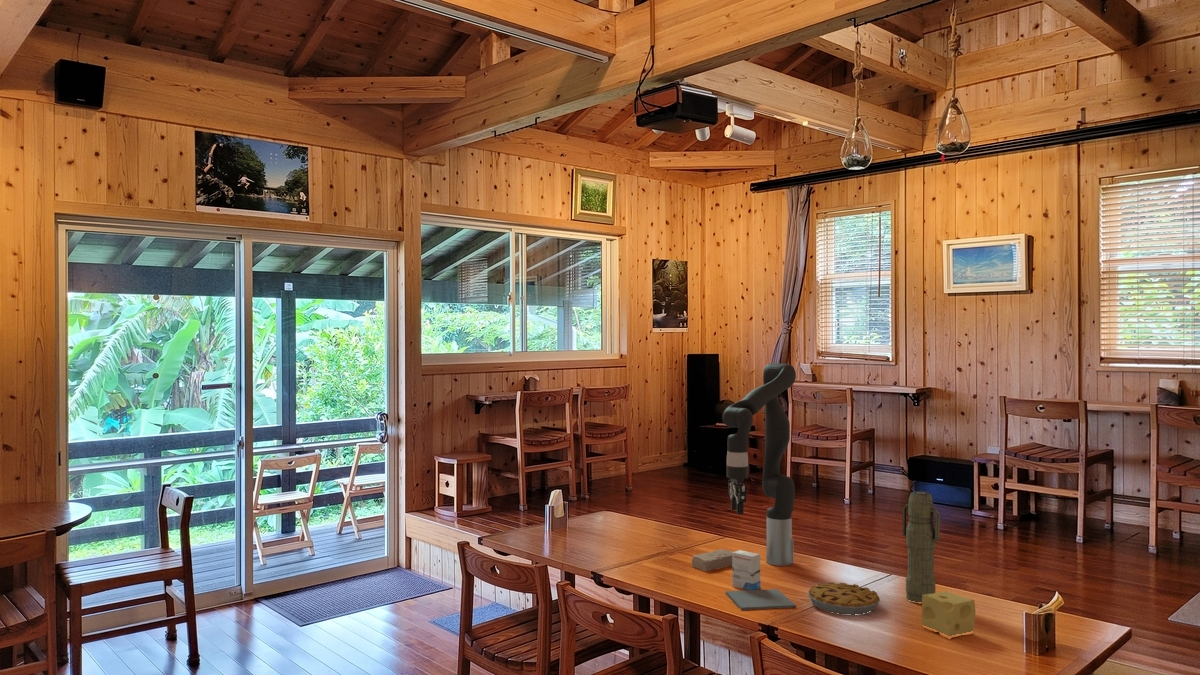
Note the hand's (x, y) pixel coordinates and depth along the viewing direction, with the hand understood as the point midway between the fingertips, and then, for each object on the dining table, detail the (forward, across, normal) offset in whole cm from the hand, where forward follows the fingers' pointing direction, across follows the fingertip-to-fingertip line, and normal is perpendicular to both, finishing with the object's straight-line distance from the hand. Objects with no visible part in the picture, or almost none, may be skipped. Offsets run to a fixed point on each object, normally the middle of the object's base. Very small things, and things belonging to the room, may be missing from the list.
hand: (737, 511), depth 277 cm
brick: (+24, +17, +3) cm, 30 cm away
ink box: (+24, -10, 0) cm, 26 cm away
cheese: (+24, -56, -45) cm, 76 cm away
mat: (+24, -24, 0) cm, 33 cm away
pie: (+24, -31, -25) cm, 46 cm away
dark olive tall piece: (+24, -30, -52) cm, 65 cm away
